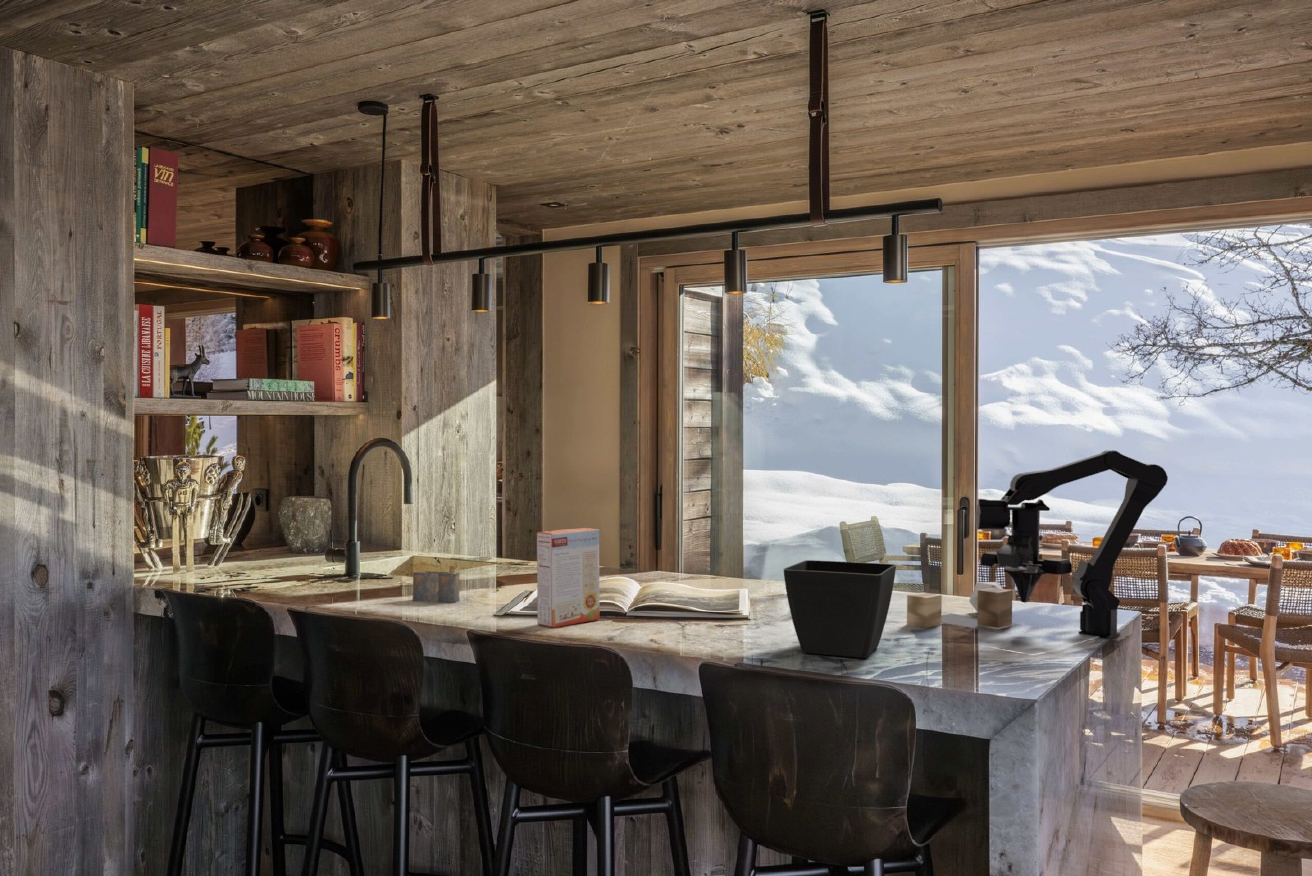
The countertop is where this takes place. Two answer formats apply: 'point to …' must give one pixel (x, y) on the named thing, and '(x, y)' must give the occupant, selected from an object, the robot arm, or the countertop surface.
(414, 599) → the grooved slate block
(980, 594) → the walnut block
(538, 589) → the cracker box
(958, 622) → the rubber mat
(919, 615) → the oak block
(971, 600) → the die
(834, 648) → the flower pot
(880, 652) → the countertop surface
